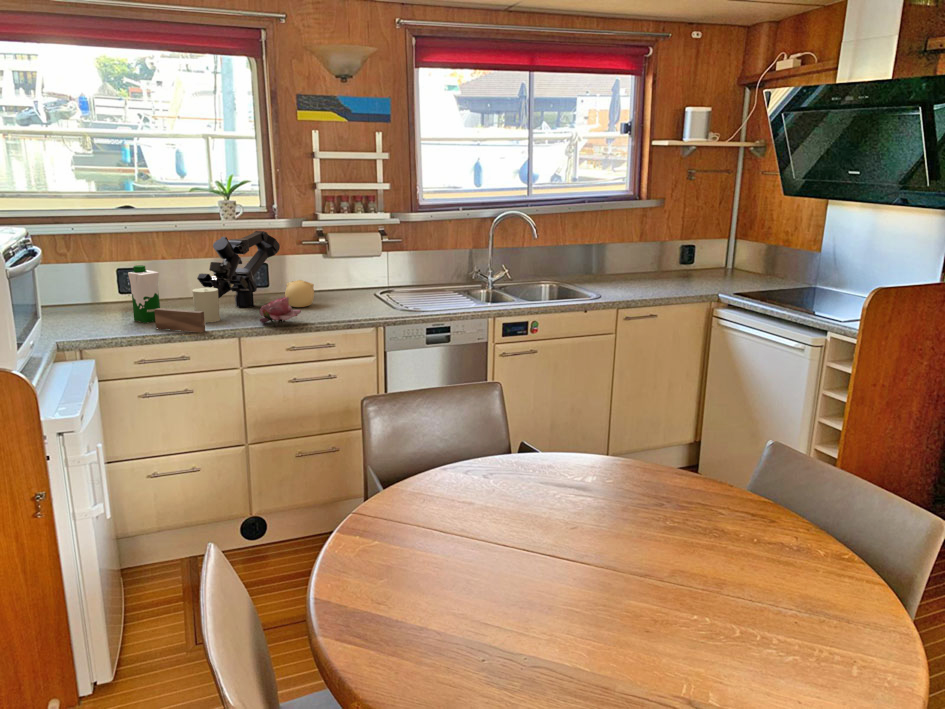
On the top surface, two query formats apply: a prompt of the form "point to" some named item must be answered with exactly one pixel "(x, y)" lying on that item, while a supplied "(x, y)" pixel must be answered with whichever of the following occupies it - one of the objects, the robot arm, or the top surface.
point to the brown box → (180, 320)
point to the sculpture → (299, 293)
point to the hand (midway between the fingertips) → (215, 299)
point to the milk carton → (144, 293)
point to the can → (207, 303)
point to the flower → (277, 311)
